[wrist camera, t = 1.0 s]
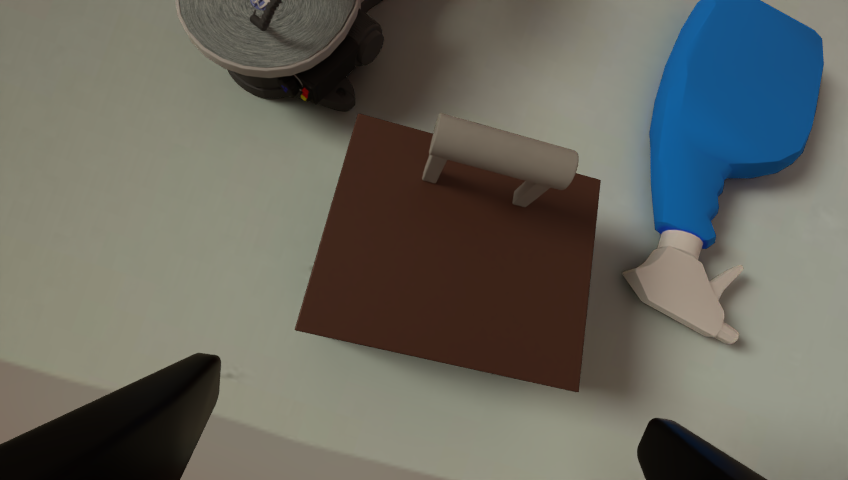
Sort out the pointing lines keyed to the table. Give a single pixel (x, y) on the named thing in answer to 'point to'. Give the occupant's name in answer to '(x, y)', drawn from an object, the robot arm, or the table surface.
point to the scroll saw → (286, 44)
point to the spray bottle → (721, 141)
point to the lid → (458, 250)
